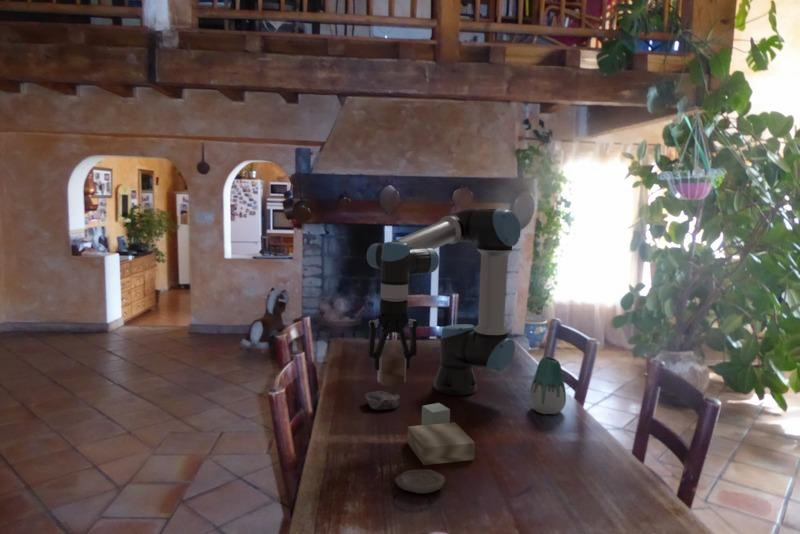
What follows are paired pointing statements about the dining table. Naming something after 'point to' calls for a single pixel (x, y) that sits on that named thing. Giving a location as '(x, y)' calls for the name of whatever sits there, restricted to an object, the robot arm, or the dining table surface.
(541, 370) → the vase
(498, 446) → the dining table surface
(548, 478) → the dining table surface
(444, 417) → the grey green cube
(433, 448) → the plinth
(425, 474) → the fossil
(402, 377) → the walnut block
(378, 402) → the rock
